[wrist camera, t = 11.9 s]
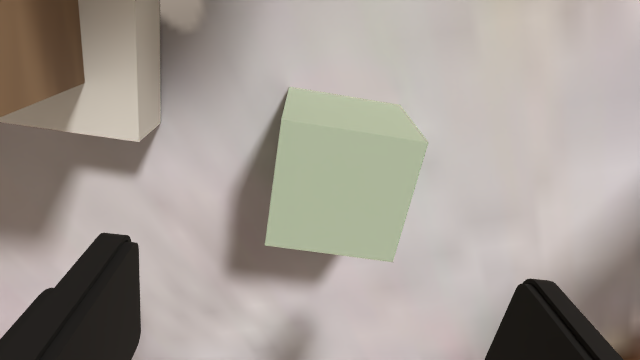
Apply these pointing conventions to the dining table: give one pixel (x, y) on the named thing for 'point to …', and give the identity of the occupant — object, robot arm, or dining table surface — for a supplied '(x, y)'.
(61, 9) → the walnut block
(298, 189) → the sage block
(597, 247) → the dining table surface
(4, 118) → the stone base
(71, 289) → the robot arm
